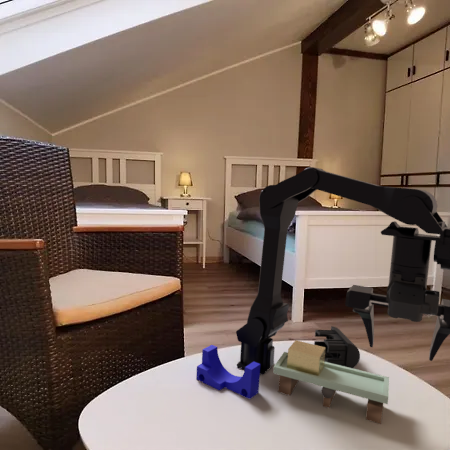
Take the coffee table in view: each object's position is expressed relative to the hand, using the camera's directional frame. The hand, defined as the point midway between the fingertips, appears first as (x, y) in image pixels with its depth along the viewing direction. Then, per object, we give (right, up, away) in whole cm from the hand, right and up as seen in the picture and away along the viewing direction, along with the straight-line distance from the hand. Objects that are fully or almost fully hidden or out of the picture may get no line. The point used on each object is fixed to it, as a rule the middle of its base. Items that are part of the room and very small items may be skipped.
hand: (400, 353), depth 63 cm
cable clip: (-30, -10, +9) cm, 33 cm away
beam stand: (-10, -11, +6) cm, 16 cm away
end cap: (-5, -10, +21) cm, 24 cm away
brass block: (-15, -6, +8) cm, 18 cm away
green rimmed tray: (-10, -7, +6) cm, 14 cm away
